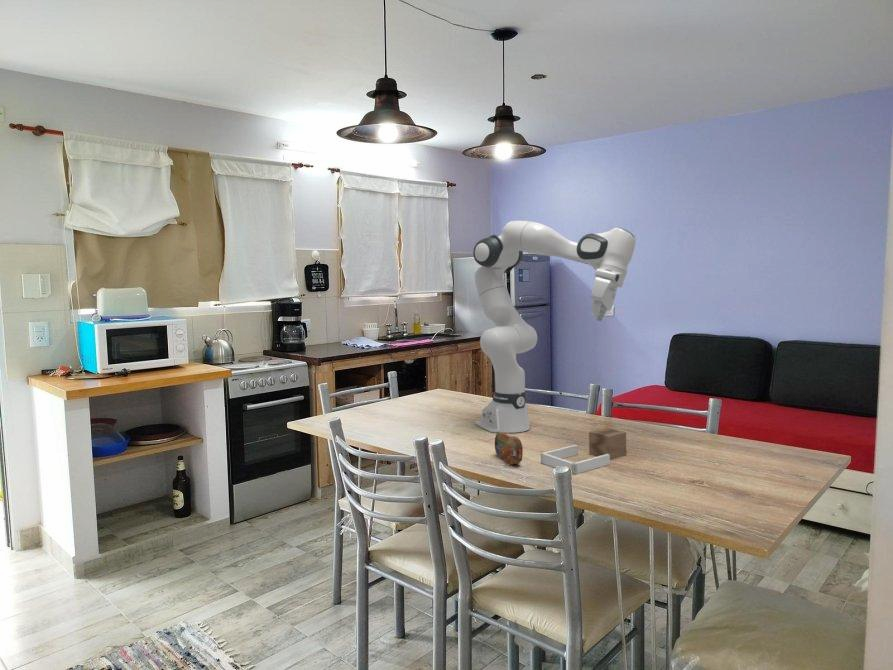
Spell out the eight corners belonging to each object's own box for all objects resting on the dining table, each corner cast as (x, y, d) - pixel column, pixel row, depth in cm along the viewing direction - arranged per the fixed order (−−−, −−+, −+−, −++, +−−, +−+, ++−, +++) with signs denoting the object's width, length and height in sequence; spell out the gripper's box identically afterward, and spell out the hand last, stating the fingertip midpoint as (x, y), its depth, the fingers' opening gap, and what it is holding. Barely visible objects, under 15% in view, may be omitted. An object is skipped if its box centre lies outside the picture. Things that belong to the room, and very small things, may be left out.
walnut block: (589, 454, 191) (589, 431, 190) (606, 450, 195) (606, 427, 195) (608, 460, 184) (608, 436, 184) (626, 455, 189) (626, 432, 188)
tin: (493, 455, 193) (493, 429, 193) (502, 453, 194) (502, 428, 194) (515, 468, 179) (514, 440, 178) (524, 467, 180) (524, 439, 180)
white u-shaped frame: (540, 462, 184) (540, 453, 183) (575, 453, 192) (575, 444, 192) (574, 474, 172) (574, 464, 172) (609, 464, 180) (609, 454, 180)
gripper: (605, 282, 203) (592, 320, 203) (595, 268, 185) (581, 310, 185) (623, 287, 201) (610, 326, 201) (615, 273, 182) (600, 316, 182)
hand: (596, 318), depth 193 cm, fingers open, 8 cm apart
